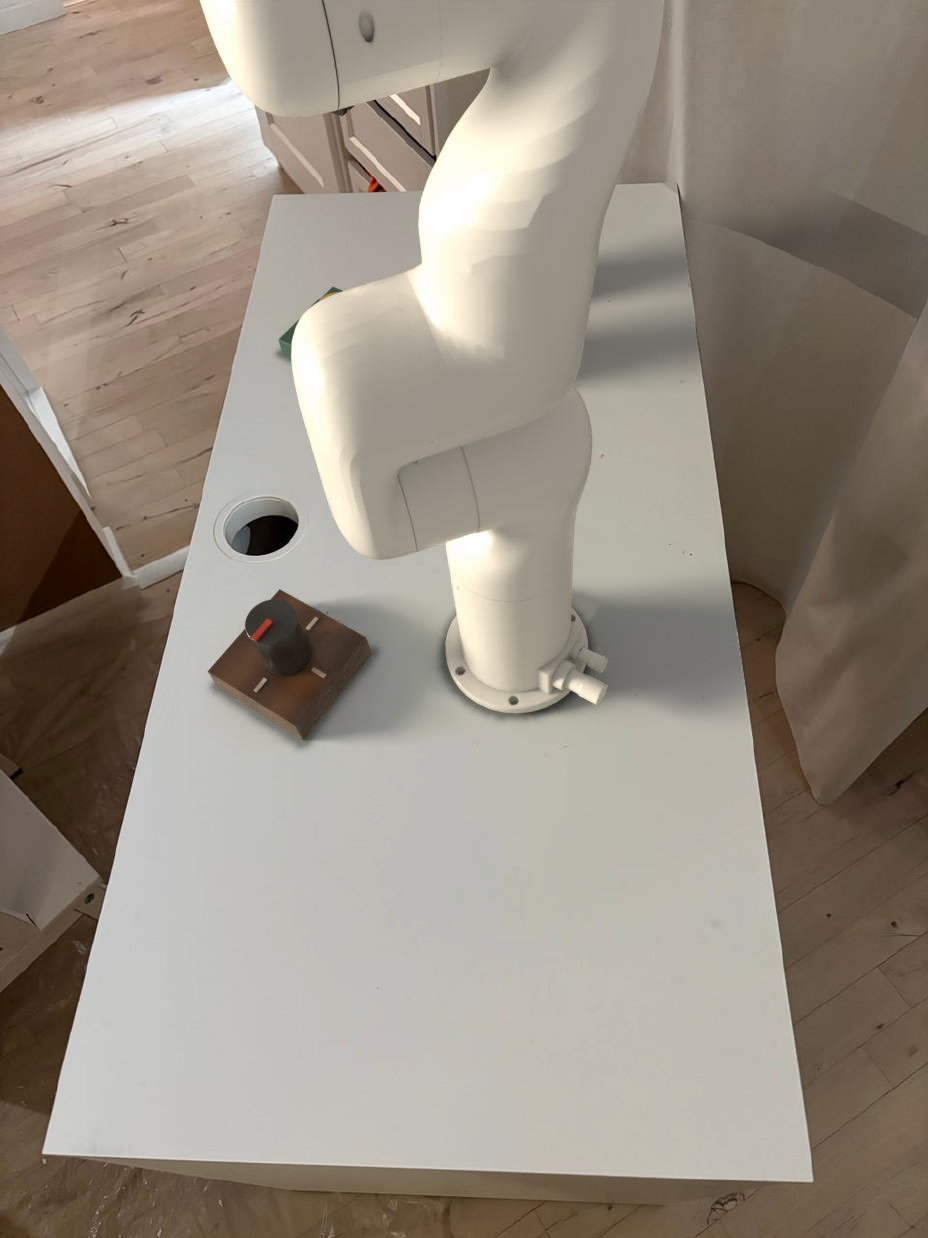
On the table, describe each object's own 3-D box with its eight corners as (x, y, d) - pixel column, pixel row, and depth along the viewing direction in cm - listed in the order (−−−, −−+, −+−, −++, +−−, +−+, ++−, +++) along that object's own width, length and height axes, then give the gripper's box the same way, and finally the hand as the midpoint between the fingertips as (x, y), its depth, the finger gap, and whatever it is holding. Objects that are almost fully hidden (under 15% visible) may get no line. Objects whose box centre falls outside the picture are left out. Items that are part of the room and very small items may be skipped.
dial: (283, 624, 84) (266, 588, 80) (321, 646, 83) (307, 611, 78) (251, 661, 83) (232, 627, 78) (290, 684, 81) (273, 651, 76)
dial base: (372, 654, 86) (366, 636, 83) (303, 741, 82) (295, 725, 79) (287, 606, 89) (279, 587, 86) (217, 687, 85) (206, 670, 83)
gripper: (259, -88, 64) (316, 165, 80) (388, -176, 70) (418, 75, 86) (178, -107, 67) (249, 141, 82) (310, -191, 73) (353, 55, 88)
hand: (335, 107), depth 84 cm, fingers closed
